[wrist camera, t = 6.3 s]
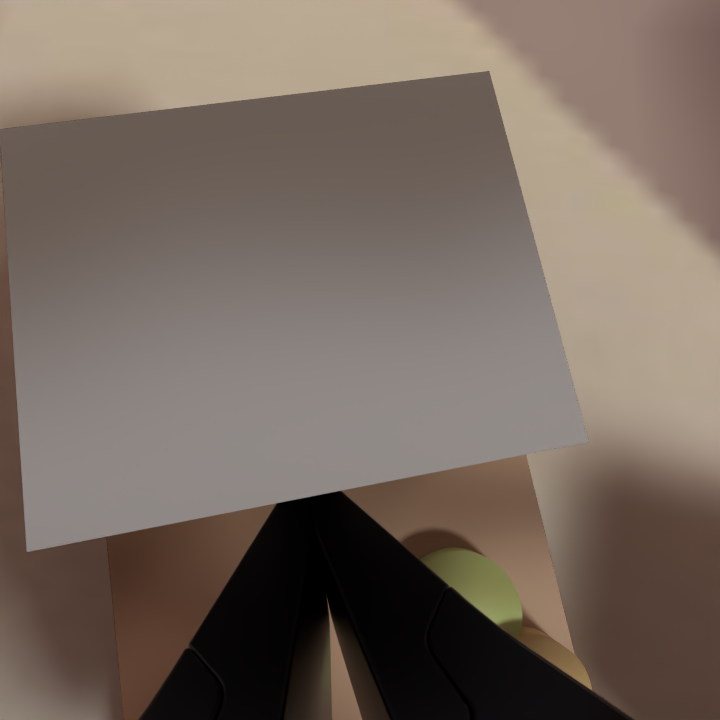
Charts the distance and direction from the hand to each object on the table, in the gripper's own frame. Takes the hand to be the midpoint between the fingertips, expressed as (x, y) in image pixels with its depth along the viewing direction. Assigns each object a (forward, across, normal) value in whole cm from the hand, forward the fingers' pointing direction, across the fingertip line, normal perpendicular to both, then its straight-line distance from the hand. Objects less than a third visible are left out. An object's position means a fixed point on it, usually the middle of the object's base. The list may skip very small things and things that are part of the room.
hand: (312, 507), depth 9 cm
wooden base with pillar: (+6, 0, -7) cm, 9 cm away
